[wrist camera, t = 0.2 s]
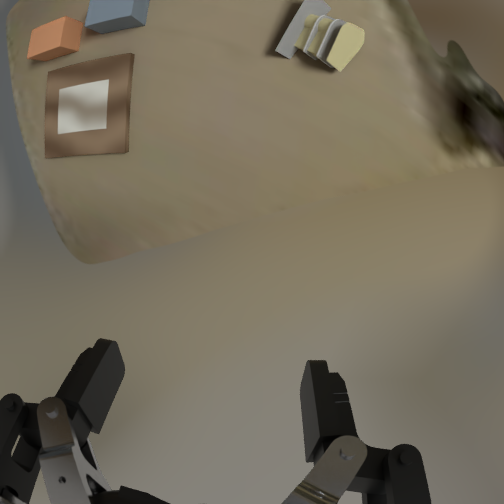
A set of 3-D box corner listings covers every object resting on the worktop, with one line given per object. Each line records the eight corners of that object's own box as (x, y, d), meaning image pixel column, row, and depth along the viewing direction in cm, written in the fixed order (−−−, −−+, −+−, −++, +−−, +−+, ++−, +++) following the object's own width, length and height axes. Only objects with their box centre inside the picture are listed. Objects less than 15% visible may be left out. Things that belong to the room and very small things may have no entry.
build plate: (52, 72, 29) (47, 71, 28) (134, 54, 29) (130, 52, 28) (49, 157, 35) (44, 158, 34) (128, 151, 35) (124, 152, 34)
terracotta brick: (50, 34, 26) (32, 29, 22) (83, 23, 26) (65, 16, 22) (46, 61, 28) (26, 58, 24) (78, 51, 28) (59, 46, 24)
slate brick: (107, 6, 25) (91, -4, 21) (150, -3, 25) (137, -16, 21) (102, 34, 28) (84, 26, 23) (145, 25, 28) (130, 15, 23)
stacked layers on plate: (312, 73, 34) (343, 88, 32) (274, 50, 27) (310, 64, 25) (342, 21, 29) (376, 32, 27) (311, -12, 22) (349, -3, 20)
